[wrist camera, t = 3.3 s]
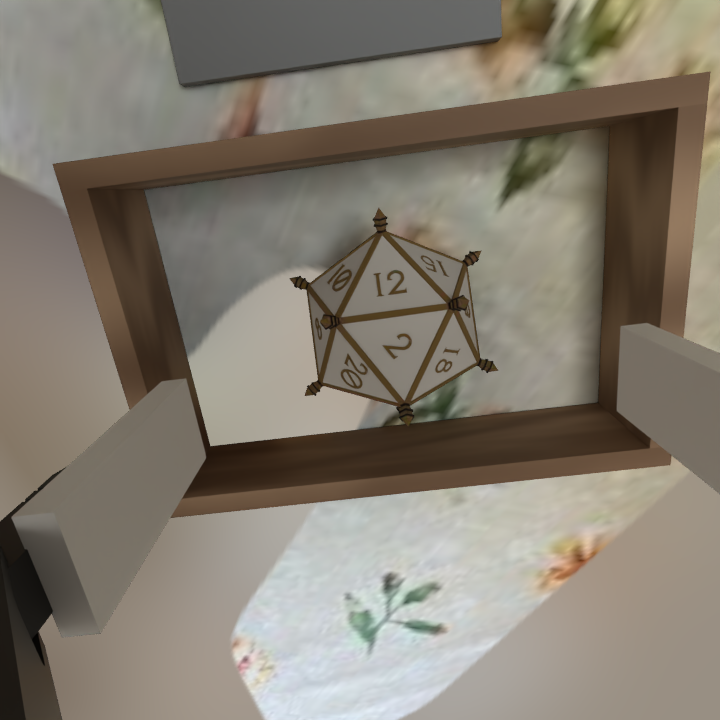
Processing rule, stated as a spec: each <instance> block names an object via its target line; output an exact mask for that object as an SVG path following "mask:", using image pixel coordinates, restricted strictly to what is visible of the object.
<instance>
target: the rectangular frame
mask: <svg viewBox="0 0 720 720" xmlns="http://www.w3.org/2000/svg"><path fill="white" fill-rule="evenodd" d="M709 80H710V72H704V73H697V74H690V75H683V76H676V77H669V78H661V79H654V80H647V81H640V82H633V83H626V84H619V85H612V86H604V87H597V88H590V89H583V90H576V91H569V92H562V93H555V94H547V95H540V96H533V97H526V98H519V99H512V100H505V101H498V102H490V103H483V104H476V105H469V106H462V107H455V108H448V109H441V110H433V111H426V112H419V113H412V114H405V115H398V116H391V117H384V118H376V119H369V120H362V121H355V122H348V123H341V124H334V125H327V126H319V127H312V128H305V129H298V130H291V131H284V132H277V133H270V134H262V135H255V136H248V137H241V138H234V139H227V140H220V141H213V142H205V143H198V144H191V145H184V146H177V147H170V148H163V149H156V150H148V151H141V152H134V153H127V154H120V155H113V156H106V157H99V158H91V159H84V160H77V161H70V162H63V163H56V164H53V167H54V170H55V173H56V177H57V180H58V183H59V186H60V189H61V193H62V196H63V199H64V202H65V205H66V208H67V212H68V215H69V218H70V221H71V224H72V227H73V231H74V234H75V237H76V240H77V244H78V246H79V250H80V253H81V256H82V259H83V263H84V266H85V269H86V272H87V275H88V279H89V282H90V285H91V288H92V291H93V294H94V298H95V301H96V304H97V307H98V310H99V313H100V317H101V320H102V323H103V326H104V329H105V333H106V336H107V339H108V342H109V345H110V349H111V352H112V355H113V358H114V361H115V365H116V368H117V371H118V374H119V377H120V380H121V384H122V387H123V390H124V393H125V396H126V400H127V403H128V406H129V409H130V410H131V409H132V408H133V407H134V406H135V405H136V404H137V403H138V402H139V401H140V400H142V399H143V398H144V397H145V396H146V395H147V394H148V393H149V392H150V391H152V390H153V389H154V388H155V387H156V386H157V385H158V384H159V383H160V382H162V381H169V380H177V379H185V378H186V380H187V384H188V388H189V392H190V395H191V399H192V403H193V407H194V411H195V415H196V419H197V423H198V427H199V430H200V434H201V438H202V442H203V446H204V450H205V454H206V459H205V461H204V462H203V464H202V466H201V467H200V469H199V471H198V472H197V474H196V476H195V477H194V479H193V481H192V482H191V484H190V486H189V487H188V489H187V491H186V492H185V494H184V496H183V497H182V499H181V501H180V502H179V504H178V506H177V507H176V509H175V511H174V512H173V514H172V516H171V517H170V518H174V517H184V516H193V515H203V514H212V513H221V512H231V511H240V510H249V509H258V508H268V507H278V506H288V505H297V504H306V503H316V502H325V501H335V500H344V499H354V498H363V497H373V496H382V495H391V494H401V493H410V492H420V491H429V490H439V489H448V488H458V487H467V486H476V485H486V484H495V483H505V482H514V481H524V480H533V479H543V478H552V477H561V476H571V475H580V474H590V473H599V472H609V471H618V470H628V469H637V468H647V467H656V466H665V465H670V464H671V454H669V453H668V452H667V451H666V450H664V449H663V448H662V447H661V446H659V445H658V444H657V443H656V442H655V441H653V440H652V439H651V438H650V437H648V436H647V435H646V434H645V433H643V432H642V431H641V430H640V429H638V428H637V427H636V426H635V425H633V424H632V423H631V422H630V421H629V420H627V419H626V418H625V417H624V416H622V415H621V414H620V413H619V412H617V392H618V370H619V349H620V328H621V326H625V325H634V324H642V323H648V324H651V325H653V326H655V327H658V328H660V329H663V330H665V331H667V332H670V333H672V334H675V335H677V336H679V337H682V338H683V336H684V326H685V316H686V307H687V297H688V287H689V277H690V267H691V257H692V248H693V238H694V228H695V218H696V208H697V198H698V189H699V179H700V169H701V159H702V149H703V139H704V130H705V120H706V110H707V100H708V90H709ZM606 126H610V137H609V160H608V184H607V208H606V231H605V255H604V279H603V302H602V326H601V350H600V373H599V397H598V403H593V404H584V405H575V406H566V407H557V408H548V409H539V410H530V411H521V412H512V413H504V414H495V415H486V416H477V417H468V418H459V419H450V420H441V421H432V422H423V423H414V424H410V425H409V427H408V426H407V425H406V424H405V425H397V426H388V427H379V428H370V429H361V430H352V431H343V432H334V433H325V434H317V435H307V436H299V437H289V438H281V439H272V440H263V441H254V442H245V443H237V444H227V445H218V446H210V443H209V439H208V436H207V432H206V428H205V424H204V420H203V417H202V413H201V409H200V405H199V401H198V397H197V393H196V389H195V386H194V382H193V378H192V374H191V370H190V366H189V362H188V359H187V355H186V351H185V347H184V343H183V339H182V335H181V332H180V328H179V324H178V320H177V316H176V312H175V308H174V305H173V301H172V297H171V293H170V289H169V285H168V282H167V278H166V274H165V270H164V266H163V262H162V258H161V255H160V251H159V247H158V243H157V239H156V235H155V231H154V228H153V224H152V220H151V216H150V212H149V208H148V205H147V201H146V197H145V193H144V190H146V189H153V188H160V187H168V186H175V185H182V184H190V183H197V182H204V181H211V180H219V179H226V178H233V177H241V176H248V175H255V174H263V173H270V172H277V171H285V170H292V169H299V168H307V167H314V166H321V165H328V164H336V163H343V162H350V161H358V160H365V159H372V158H380V157H387V156H394V155H402V154H409V153H416V152H424V151H431V150H438V149H445V148H453V147H460V146H467V145H475V144H482V143H489V142H497V141H504V140H511V139H519V138H526V137H533V136H541V135H548V134H555V133H562V132H570V131H577V130H584V129H592V128H599V127H606Z"/></svg>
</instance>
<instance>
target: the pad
mask: <svg viewBox="0 0 720 720" xmlns="http://www.w3.org/2000/svg"><path fill="white" fill-rule="evenodd" d="M161 3H162V7H163V12H164V16H165V21H166V25H167V30H168V34H169V39H170V43H171V48H172V52H173V57H174V62H175V66H176V71H177V75H178V80H179V84H180V85H182V86H184V87H187V86H194V85H201V84H208V83H215V82H221V81H228V80H235V79H242V78H249V77H256V76H263V75H269V74H276V73H283V72H290V71H297V70H304V69H311V68H318V67H324V66H331V65H338V64H345V63H352V62H359V61H366V60H372V59H379V58H386V57H393V56H400V55H407V54H414V53H420V52H427V51H434V50H441V49H448V48H455V47H462V46H468V45H475V44H482V43H489V42H496V41H498V40H499V39H500V38H501V37H502V30H501V0H161Z"/></svg>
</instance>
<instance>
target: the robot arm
mask: <svg viewBox="0 0 720 720" xmlns="http://www.w3.org/2000/svg"><path fill="white" fill-rule="evenodd" d="M617 412H619V413H620V414H621V415H622V416H624V417H625V418H626V419H627V420H629V421H630V422H631V423H632V424H633V425H635V426H636V427H637V428H638V429H640V430H641V431H642V432H643V433H645V434H646V435H647V436H648V437H650V438H651V439H652V440H653V441H655V442H656V443H657V444H658V445H659V446H661V447H662V448H663V449H664V450H666V451H667V452H668V453H669V454H671V455H672V456H673V457H674V458H676V459H677V460H678V461H679V462H681V463H682V464H683V465H684V466H685V467H687V468H688V469H689V470H690V471H692V472H693V473H694V474H696V475H697V476H698V477H699V478H700V479H702V480H703V481H704V482H705V483H707V484H708V485H709V486H710V487H711V488H713V489H714V490H715V491H717V492H718V493H719V494H720V353H718V352H715V351H713V350H711V349H708V348H706V347H703V346H701V345H699V344H696V343H694V342H691V341H689V340H687V339H684V338H682V337H679V336H677V335H675V334H672V333H670V332H667V331H665V330H663V329H660V328H658V327H655V326H653V325H651V324H648V323H642V324H634V325H625V326H621V328H620V349H619V370H618V392H617ZM205 459H206V454H205V450H204V446H203V442H202V438H201V434H200V430H199V427H198V423H197V419H196V415H195V411H194V407H193V403H192V399H191V395H190V392H189V388H188V384H187V380H186V378H185V379H177V380H169V381H162V382H160V383H159V384H158V385H157V386H156V387H155V388H154V389H153V390H152V391H150V392H149V393H148V394H147V395H146V396H145V397H144V398H143V399H142V400H140V401H139V402H138V403H137V404H136V405H135V406H134V407H133V408H132V409H131V410H129V411H128V412H127V413H126V414H125V415H124V416H123V417H122V418H121V419H119V420H118V421H117V422H116V423H115V424H114V425H113V426H112V427H111V428H109V429H108V430H107V431H106V432H105V433H104V434H103V435H102V436H101V437H99V439H97V440H96V441H95V442H94V443H93V444H92V445H91V446H90V447H88V448H87V449H86V450H85V451H84V452H83V453H82V454H81V455H80V456H78V457H77V458H76V459H75V460H74V461H73V462H72V463H71V464H70V465H68V466H67V467H65V468H64V469H62V470H60V471H59V472H57V473H55V474H54V475H52V476H51V477H50V478H49V479H48V480H46V481H45V482H44V483H43V484H42V485H41V486H40V487H39V488H38V491H34V492H33V493H32V494H31V495H30V496H28V498H26V499H25V502H22V503H21V504H20V505H18V506H17V507H16V508H15V509H14V510H13V511H12V512H10V513H9V514H8V515H7V516H6V517H5V518H4V519H3V520H1V521H0V720H62V716H61V712H60V708H59V704H58V699H57V696H56V691H55V687H54V683H53V679H52V674H51V670H50V666H49V662H48V657H47V654H46V649H45V645H44V643H43V641H42V638H41V636H40V634H39V632H38V631H39V630H40V628H41V627H42V625H43V624H44V623H45V622H46V620H47V619H48V618H49V616H50V615H51V614H52V615H53V618H54V620H55V622H56V624H57V627H58V629H59V632H60V634H61V637H72V636H82V635H92V634H101V632H102V630H103V629H104V627H105V626H106V623H107V622H108V620H109V619H110V617H111V616H112V614H113V612H114V610H115V609H116V607H117V605H118V604H119V602H120V601H121V599H122V597H123V596H124V594H125V592H126V591H127V589H128V587H129V586H130V584H131V582H132V581H133V579H134V577H135V576H136V574H137V572H138V571H139V569H140V567H141V565H142V564H143V562H144V561H145V559H146V557H147V556H148V554H149V552H150V551H151V549H152V547H153V545H154V544H155V542H156V541H157V539H158V537H159V536H160V534H161V532H162V531H163V529H164V527H165V526H166V524H167V522H168V520H169V519H170V517H171V516H172V514H173V512H174V511H175V509H176V507H177V506H178V504H179V502H180V501H181V499H182V497H183V496H184V494H185V492H186V491H187V489H188V487H189V486H190V484H191V482H192V481H193V479H194V477H195V476H196V474H197V472H198V471H199V469H200V467H201V466H202V464H203V462H204V461H205Z"/></svg>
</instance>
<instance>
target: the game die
mask: <svg viewBox="0 0 720 720" xmlns="http://www.w3.org/2000/svg"><path fill="white" fill-rule="evenodd" d="M386 219H387V217H386V216H385V215H384V214H383V213H382V211H381V210H380V209H379V208H378V210H377V213H376V215H375V217H374V218H373V221H374V223H375V224H374V227H376V229H377V232H376V233H375V234H374V235H373V236H371V237H370V238H369V239H367V240H366V241H365V242H363V243H362V244H361V245H359V246H358V247H357V248H355V249H354V250H353V251H351V252H350V253H349V254H348V255H346V256H345V257H344V258H342V259H341V260H340V261H338V262H337V263H336V264H334V265H333V266H332V267H330V268H329V269H328V270H327V271H325V272H324V273H323V274H321V275H320V276H319V277H317V278H316V279H315V280H314V281H312V282H311V283H309V282H307V281H306V280H305V278H304V279H303V278H301V276H299V277H294V278H290V280H291V281H292V282H293V284H294V286H295V287H296V288H297V287H298V288H300V289H306V290H307V296H308V304H309V312H310V319H311V328H312V335H313V343H314V351H315V359H316V367H317V375H318V381H316V382H313V383H312V384H311V385H310V386H309V385H308V386H307V387H308V388H307V390H306V393H305V396H308V395H315V396H316V393H317V392H320V388H321V387H322V386H326V387H330V388H333V389H337V390H340V391H344V392H348V393H351V394H355V395H359V396H362V397H366V398H369V399H373V400H376V401H380V402H384V403H387V404H391V405H394V406H397V408H396V409H397V410H398V411H399V413H400V415H401V416H400V417H399V418H400V419H401V420H402V421H404V423H405V424H406V425H407V426H408V427H409V425H410V422H411V420H412V419H413V418H414V415H413V414H412V412H413V410H412V409H411V408H410V405H412V404H414V403H415V402H417V401H419V400H420V399H422V398H424V397H425V396H427V395H429V394H430V393H432V392H434V391H435V390H437V389H439V388H440V387H442V386H444V385H445V384H447V383H449V382H450V381H452V380H453V379H455V378H457V377H458V376H460V375H462V374H463V373H465V372H467V371H468V370H470V369H472V368H473V367H475V366H479V367H480V368H481V370H482V371H483V370H485V371H486V373H488V372H491V371H498V369H497V368H496V366H495V365H494V363H493V361H488V359H485V360H483V359H481V358H480V353H479V346H478V339H477V332H476V324H475V317H474V310H473V303H472V296H471V289H470V282H469V275H468V268H467V267H468V266H469V265H473V264H474V262H477V261H478V260H479V259H478V258H479V255H480V253H481V251H475V252H471V251H470V252H469V254H468V255H465V259H464V260H463V261H460V260H458V259H455V258H453V257H450V256H448V255H445V254H443V253H440V252H438V251H435V250H433V249H430V248H427V247H425V246H422V245H420V244H417V243H415V242H412V241H410V240H407V239H405V238H402V237H399V236H397V235H394V234H392V233H389V232H387V231H386V225H388V223H386Z"/></svg>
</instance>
